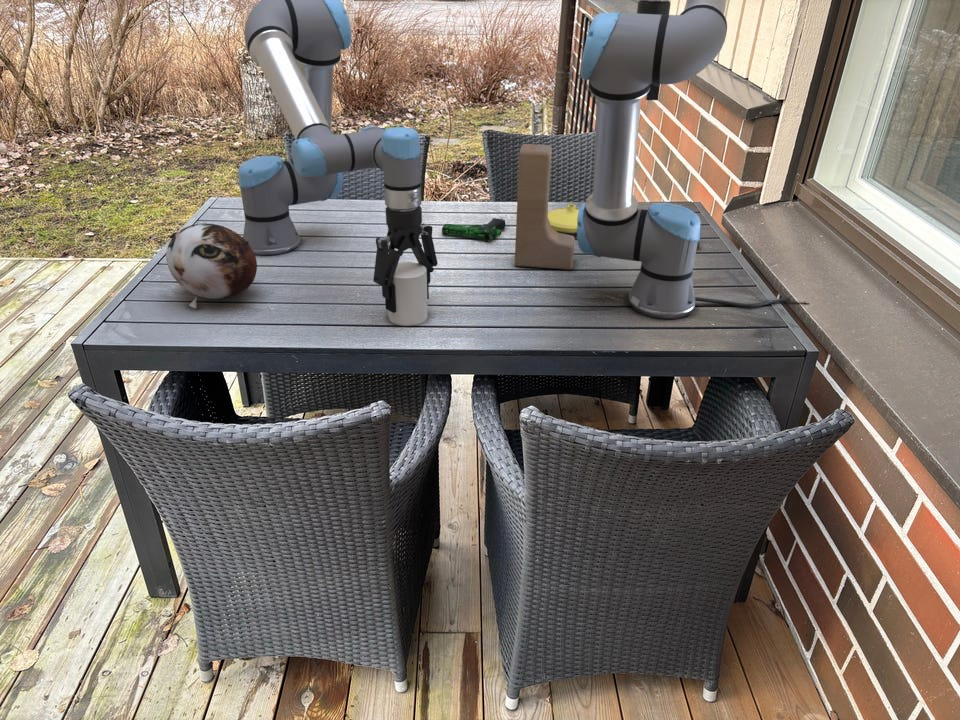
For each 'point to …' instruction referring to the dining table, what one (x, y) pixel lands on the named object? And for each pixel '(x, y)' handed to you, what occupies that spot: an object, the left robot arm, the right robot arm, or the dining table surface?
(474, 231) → the handgun
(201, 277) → the cat face balloon
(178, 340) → the dining table surface
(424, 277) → the canister
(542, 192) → the decorative block
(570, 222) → the yellow pot lid
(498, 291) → the dining table surface
